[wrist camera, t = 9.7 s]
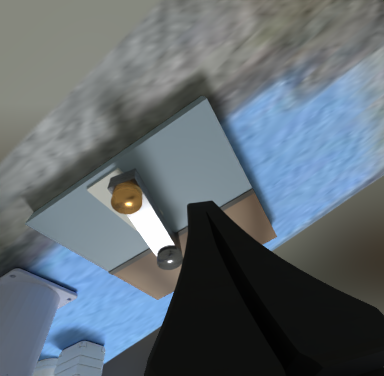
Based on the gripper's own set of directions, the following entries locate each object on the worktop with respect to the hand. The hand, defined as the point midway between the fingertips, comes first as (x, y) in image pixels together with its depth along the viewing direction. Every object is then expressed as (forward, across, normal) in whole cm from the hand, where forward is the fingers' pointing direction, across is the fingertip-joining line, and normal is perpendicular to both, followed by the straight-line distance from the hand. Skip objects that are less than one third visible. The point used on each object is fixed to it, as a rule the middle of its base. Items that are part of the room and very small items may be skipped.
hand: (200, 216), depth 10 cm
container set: (+9, +25, +38) cm, 46 cm away
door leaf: (+8, +3, +4) cm, 10 cm away
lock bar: (+7, +3, +5) cm, 9 cm away
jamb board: (+8, -1, +12) cm, 15 cm away
